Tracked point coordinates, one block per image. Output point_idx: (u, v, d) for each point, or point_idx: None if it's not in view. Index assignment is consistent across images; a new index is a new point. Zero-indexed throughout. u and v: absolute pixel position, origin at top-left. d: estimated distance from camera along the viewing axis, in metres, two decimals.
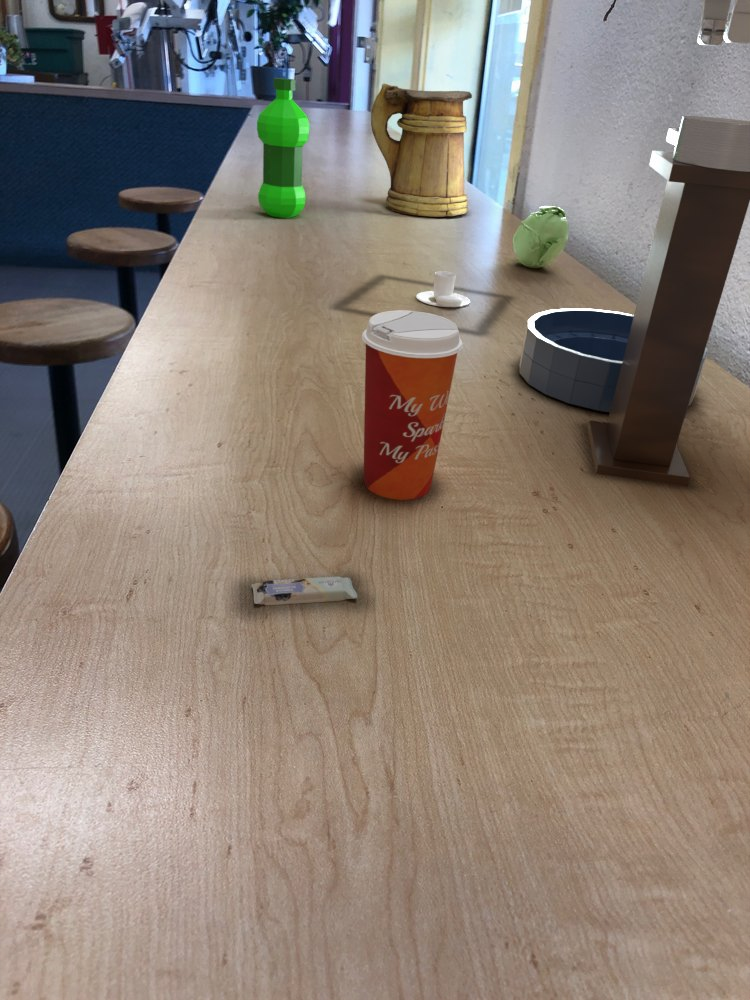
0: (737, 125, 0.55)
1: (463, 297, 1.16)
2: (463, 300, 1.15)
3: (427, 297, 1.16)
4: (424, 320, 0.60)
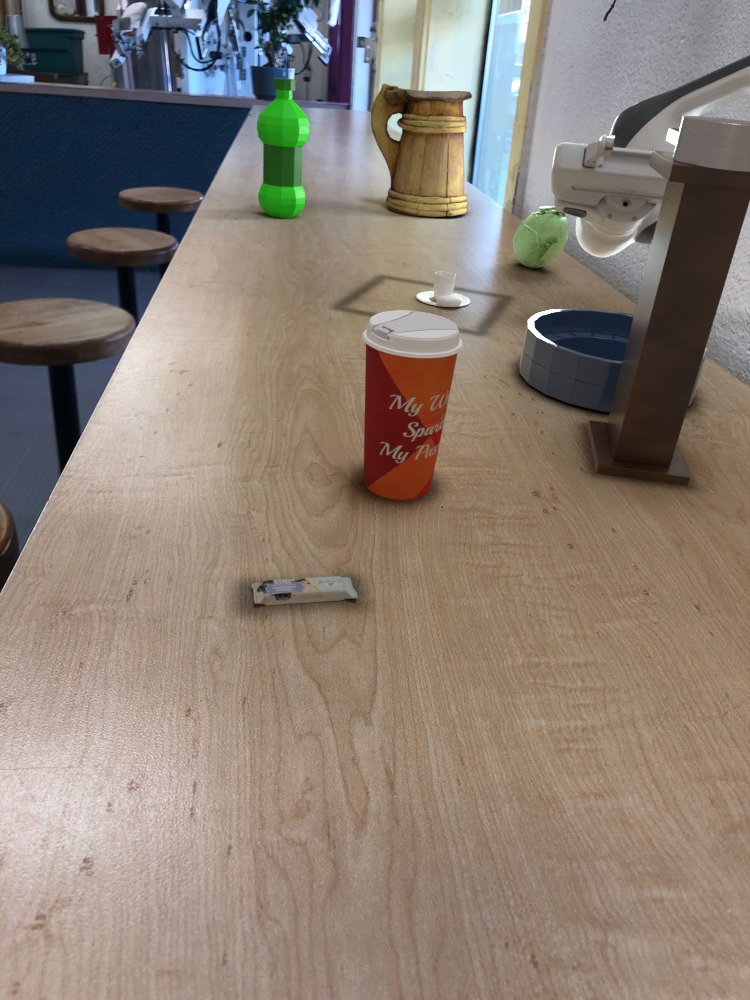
0: (737, 125, 0.55)
1: (463, 297, 1.16)
2: (463, 300, 1.15)
3: (427, 297, 1.16)
4: (425, 320, 0.60)
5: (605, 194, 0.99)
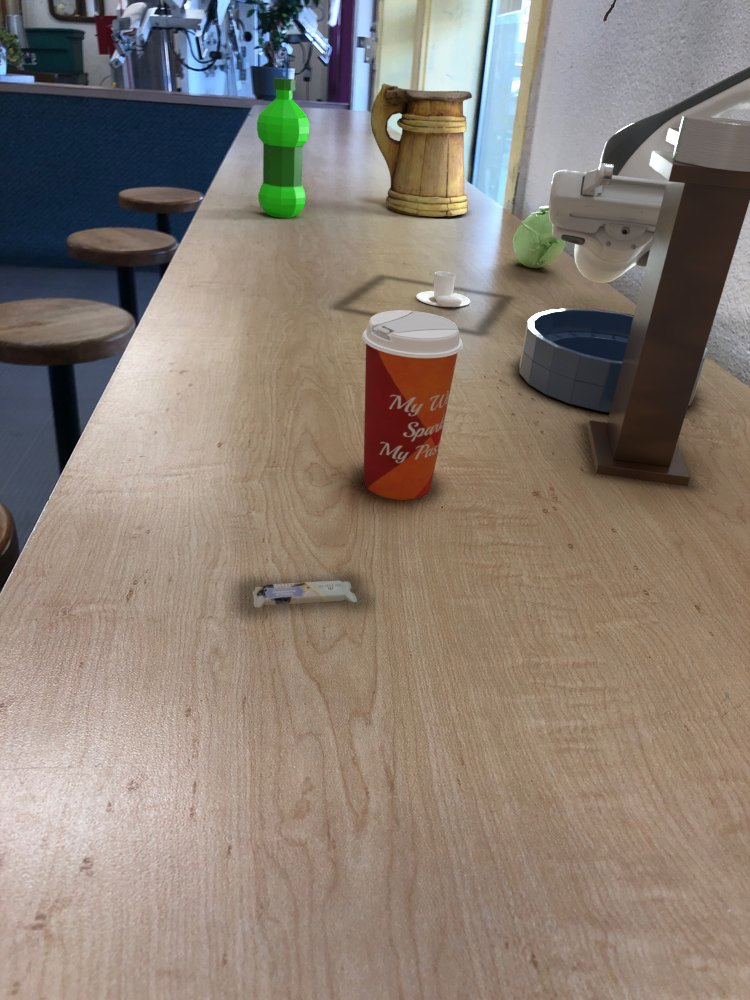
0: (737, 125, 0.55)
1: (463, 297, 1.16)
2: (463, 300, 1.15)
3: (427, 297, 1.16)
4: (425, 320, 0.60)
5: (604, 222, 0.97)
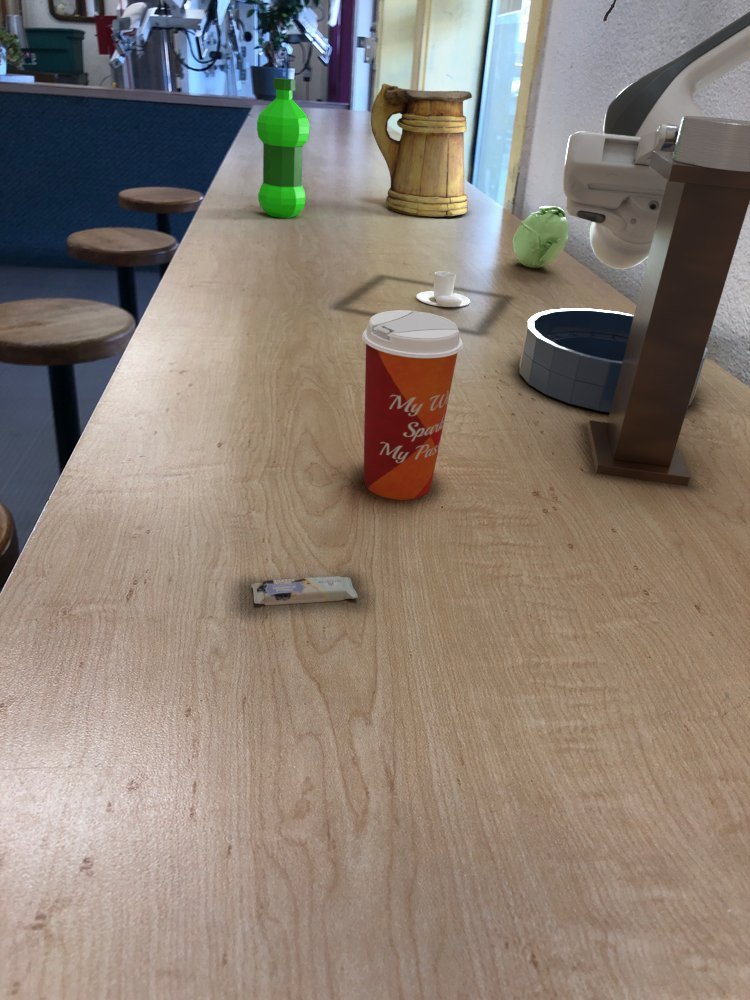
0: (737, 125, 0.55)
1: (463, 297, 1.16)
2: (463, 300, 1.15)
3: (427, 297, 1.16)
4: (425, 320, 0.60)
5: (628, 195, 0.82)
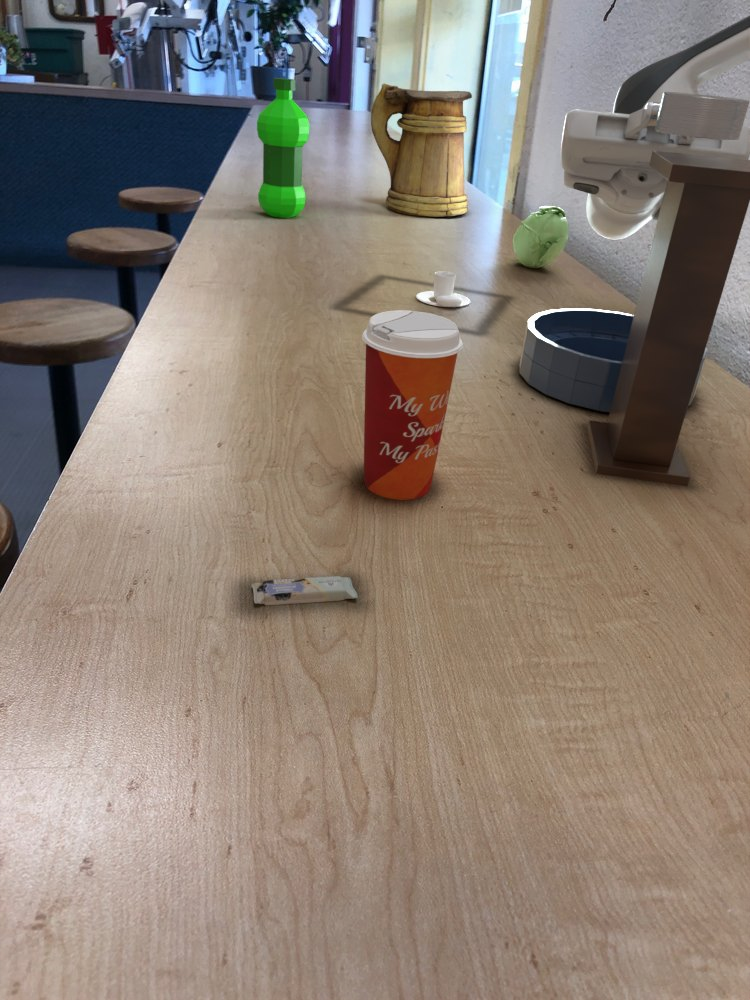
0: (709, 99, 0.64)
1: (463, 297, 1.16)
2: (463, 300, 1.15)
3: (427, 297, 1.16)
4: (425, 320, 0.60)
5: (619, 168, 0.91)
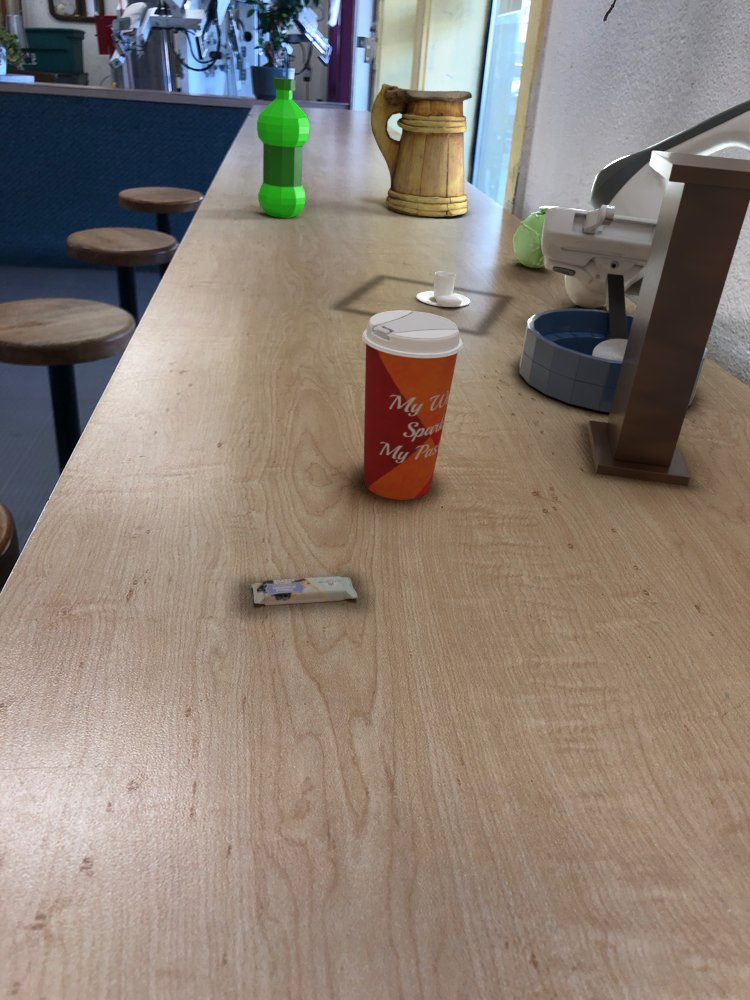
0: None
1: (463, 297, 1.16)
2: (463, 300, 1.15)
3: (427, 297, 1.16)
4: (425, 320, 0.60)
5: (594, 256, 1.01)
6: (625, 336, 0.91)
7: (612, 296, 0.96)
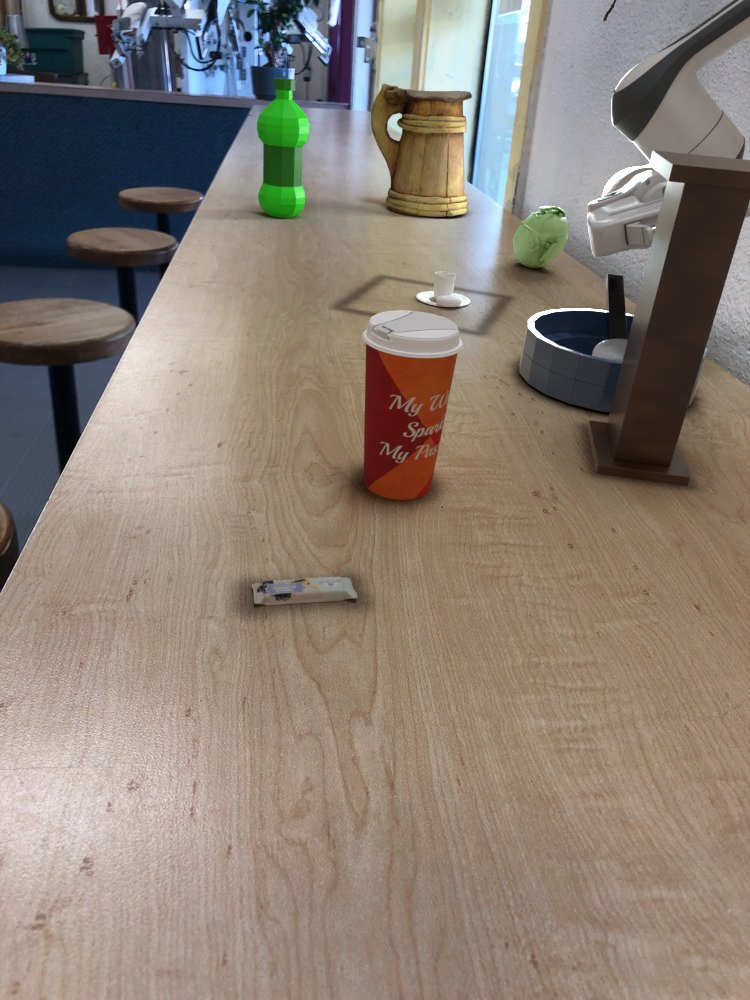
0: None
1: (463, 297, 1.16)
2: (463, 300, 1.15)
3: (427, 297, 1.16)
4: (425, 320, 0.60)
5: None
6: (625, 336, 0.91)
7: (612, 296, 0.96)
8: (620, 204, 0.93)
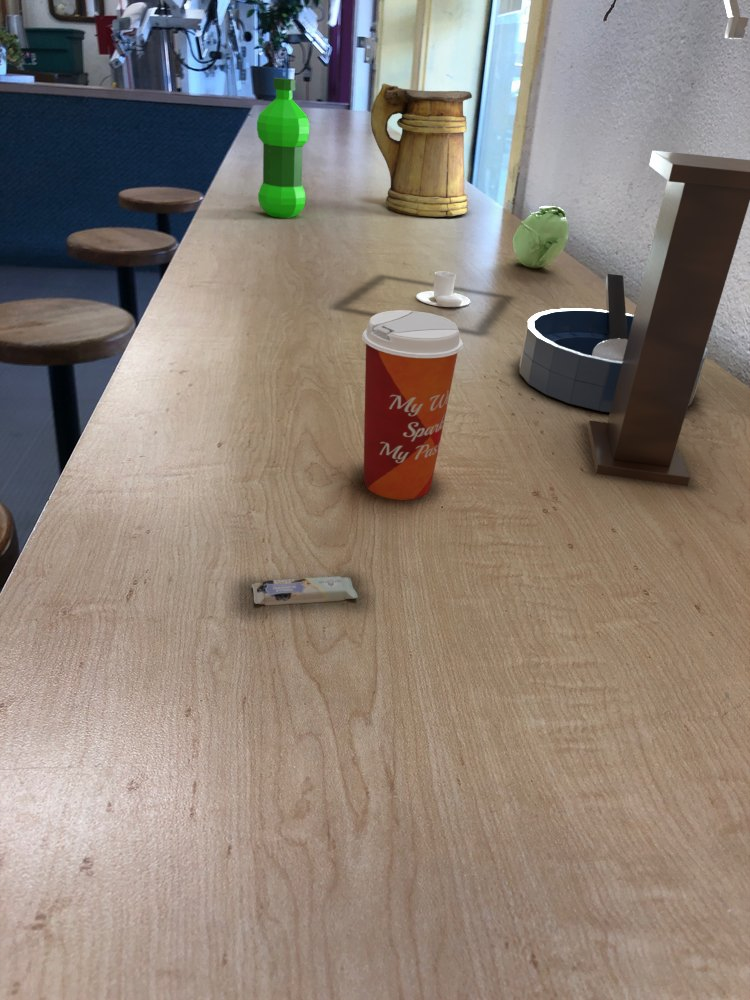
0: None
1: (463, 297, 1.16)
2: (463, 300, 1.15)
3: (427, 297, 1.16)
4: (425, 320, 0.60)
5: None
6: (625, 336, 0.91)
7: (612, 296, 0.96)
8: None
